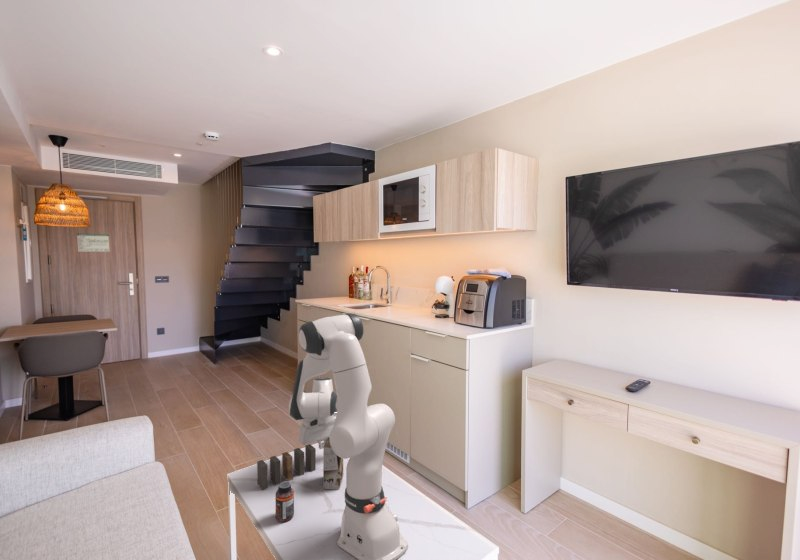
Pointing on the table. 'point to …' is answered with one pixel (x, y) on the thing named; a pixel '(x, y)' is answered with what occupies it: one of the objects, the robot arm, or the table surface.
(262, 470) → the domino
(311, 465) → the domino
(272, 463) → the domino
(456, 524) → the table surface
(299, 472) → the domino
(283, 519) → the supplement bottle
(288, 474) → the domino
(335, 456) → the coffee box
